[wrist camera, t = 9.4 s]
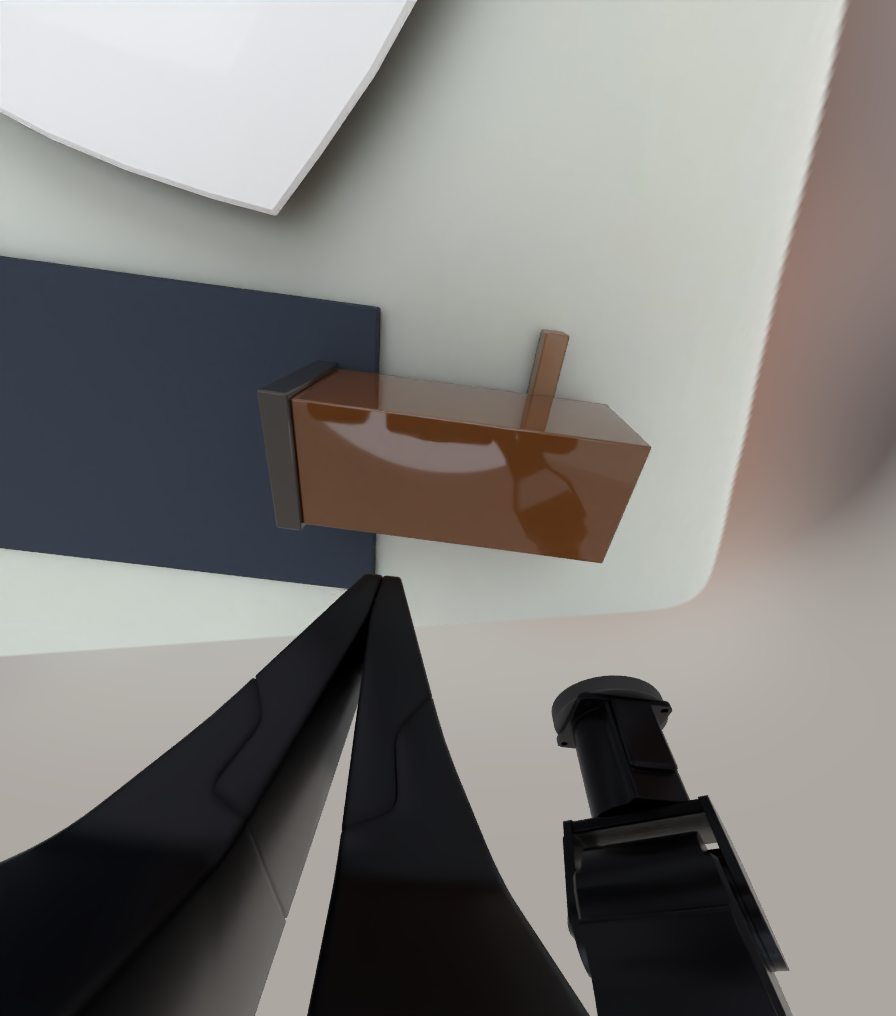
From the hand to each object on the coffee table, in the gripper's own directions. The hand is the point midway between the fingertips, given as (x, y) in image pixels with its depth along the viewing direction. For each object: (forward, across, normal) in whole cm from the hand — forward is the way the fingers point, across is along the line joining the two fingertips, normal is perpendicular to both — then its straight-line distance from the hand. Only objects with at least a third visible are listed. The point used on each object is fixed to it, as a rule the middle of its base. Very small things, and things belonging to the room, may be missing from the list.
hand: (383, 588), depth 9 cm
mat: (+12, +18, +3) cm, 21 cm away
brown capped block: (+8, -8, 0) cm, 11 cm away
